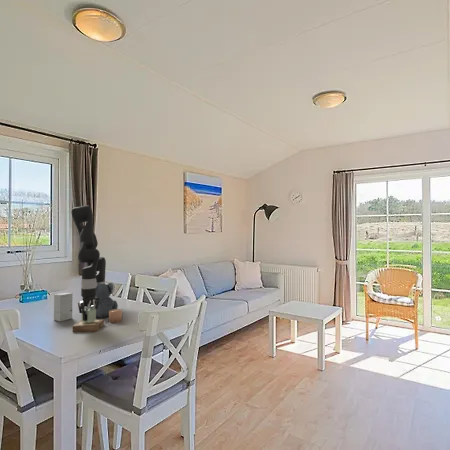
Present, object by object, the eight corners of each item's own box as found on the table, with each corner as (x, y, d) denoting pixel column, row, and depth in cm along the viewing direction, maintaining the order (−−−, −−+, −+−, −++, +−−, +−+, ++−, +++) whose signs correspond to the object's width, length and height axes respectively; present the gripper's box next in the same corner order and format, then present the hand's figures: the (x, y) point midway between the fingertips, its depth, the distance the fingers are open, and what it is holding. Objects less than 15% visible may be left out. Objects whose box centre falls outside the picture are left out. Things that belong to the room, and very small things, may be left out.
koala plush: (117, 310, 219) (117, 279, 219) (118, 317, 202) (118, 284, 202) (88, 312, 213) (88, 281, 213) (86, 319, 196) (86, 285, 196)
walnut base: (81, 325, 185) (81, 319, 185) (103, 324, 186) (103, 319, 186) (72, 332, 173) (72, 325, 173) (96, 331, 174) (96, 325, 174)
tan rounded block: (113, 319, 197) (114, 308, 198) (124, 320, 195) (124, 309, 195) (106, 322, 191) (106, 311, 191) (117, 323, 189) (117, 312, 189)
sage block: (88, 319, 183) (88, 308, 183) (95, 320, 181) (96, 308, 181) (81, 321, 178) (81, 310, 178) (89, 322, 176) (89, 311, 176)
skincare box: (59, 321, 192) (59, 295, 192) (53, 320, 195) (53, 294, 195) (73, 318, 199) (73, 292, 199) (66, 317, 202) (66, 291, 202)
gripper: (92, 284, 187) (92, 315, 187) (73, 288, 174) (73, 322, 174) (103, 285, 185) (103, 316, 185) (85, 289, 172) (85, 323, 171)
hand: (88, 319), depth 179 cm, fingers closed on sage block, 5 cm apart
